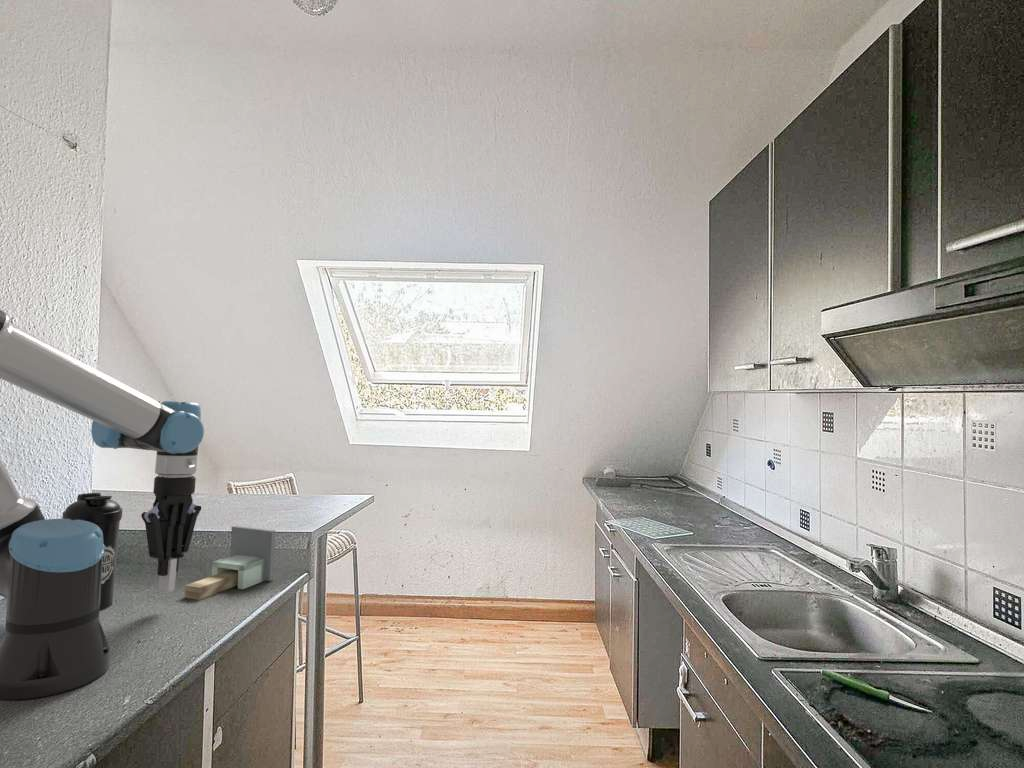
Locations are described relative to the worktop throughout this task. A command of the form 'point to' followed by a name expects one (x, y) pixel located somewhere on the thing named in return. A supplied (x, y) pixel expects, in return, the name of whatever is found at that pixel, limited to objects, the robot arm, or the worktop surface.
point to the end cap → (249, 556)
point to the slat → (212, 585)
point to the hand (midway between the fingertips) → (166, 590)
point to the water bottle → (108, 521)
